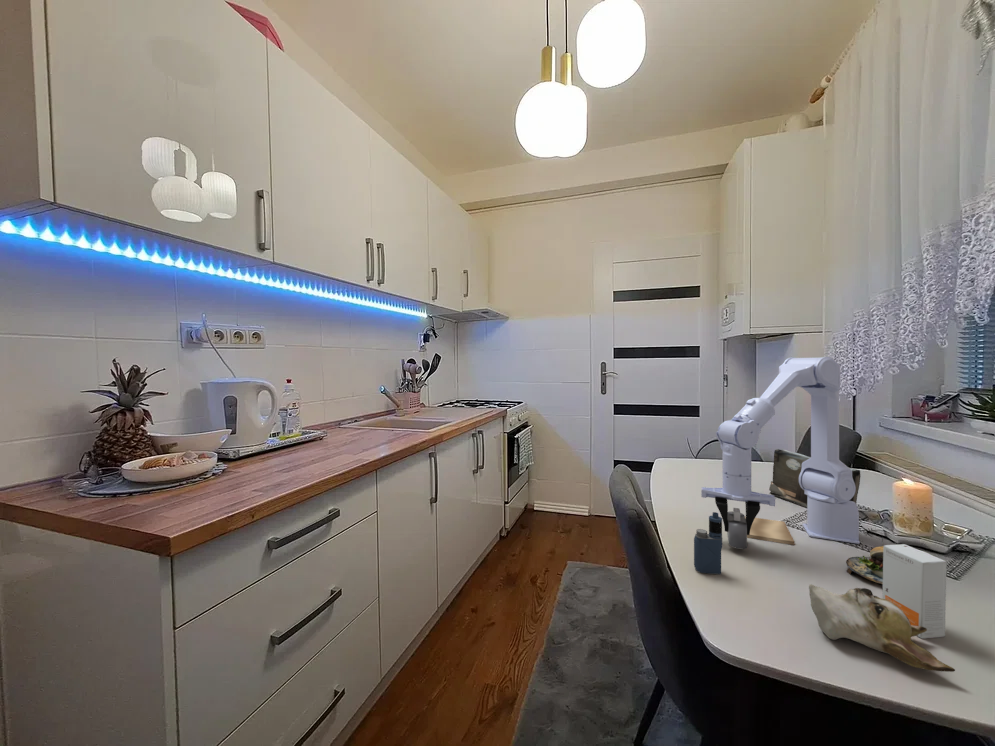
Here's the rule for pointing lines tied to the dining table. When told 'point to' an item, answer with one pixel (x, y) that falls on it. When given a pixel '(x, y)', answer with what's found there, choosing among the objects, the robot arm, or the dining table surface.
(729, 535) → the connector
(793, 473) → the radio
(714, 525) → the vaping device
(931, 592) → the skincare box
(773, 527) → the oak board
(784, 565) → the dining table surface
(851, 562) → the burger
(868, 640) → the ceramic sculpture
